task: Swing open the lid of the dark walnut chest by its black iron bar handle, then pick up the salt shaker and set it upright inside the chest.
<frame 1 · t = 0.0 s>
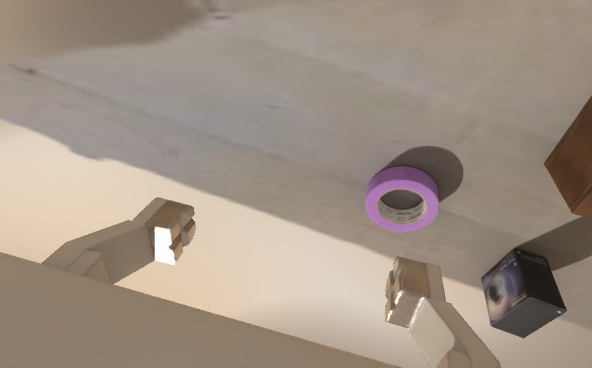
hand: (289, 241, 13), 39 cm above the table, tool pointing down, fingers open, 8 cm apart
tape roll: (401, 192, 58), on the table
small box: (511, 267, 63), on the table
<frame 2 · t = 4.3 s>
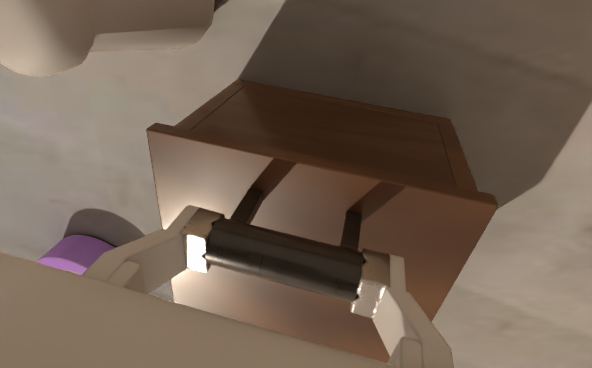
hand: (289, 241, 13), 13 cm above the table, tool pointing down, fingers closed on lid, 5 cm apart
lid: (281, 319, 17), point 13 cm above the table, hinge at -0.1°, touching gripper
chest: (321, 191, 28), on the table
tape roll: (104, 268, 42), on the table
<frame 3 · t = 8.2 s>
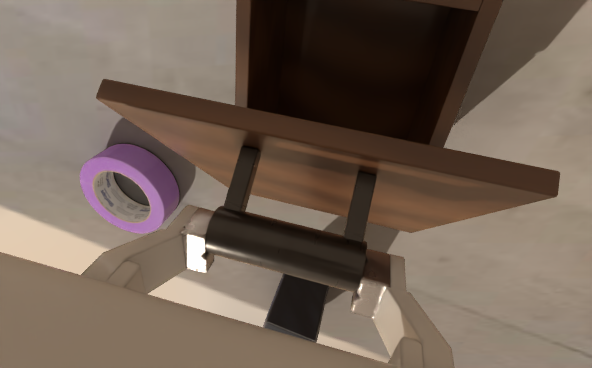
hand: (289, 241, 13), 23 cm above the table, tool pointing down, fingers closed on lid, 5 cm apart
lid: (306, 221, 18), point 18 cm above the table, hinge at 45.6°, touching gripper
chest: (351, 73, 31), on the table
tape roll: (141, 181, 45), on the table
small box: (301, 286, 49), on the table
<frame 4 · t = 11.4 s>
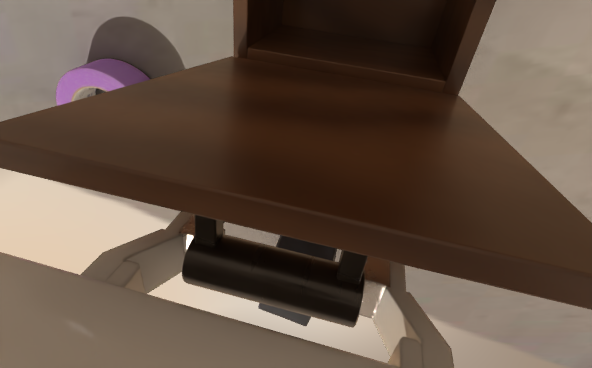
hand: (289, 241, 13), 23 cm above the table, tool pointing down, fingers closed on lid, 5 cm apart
lid: (313, 158, 15), point 19 cm above the table, hinge at 82.2°, touching gripper
tape roll: (127, 108, 40), on the table
small box: (310, 227, 44), on the table
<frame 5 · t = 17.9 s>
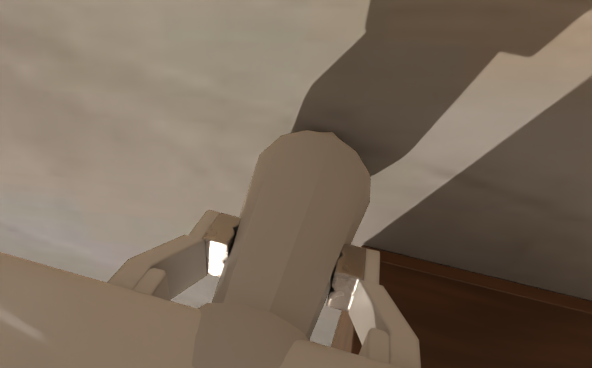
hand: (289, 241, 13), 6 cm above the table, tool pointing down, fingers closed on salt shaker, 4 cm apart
chest: (440, 348, 24), on the table
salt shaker: (319, 162, 18), on the table, touching gripper
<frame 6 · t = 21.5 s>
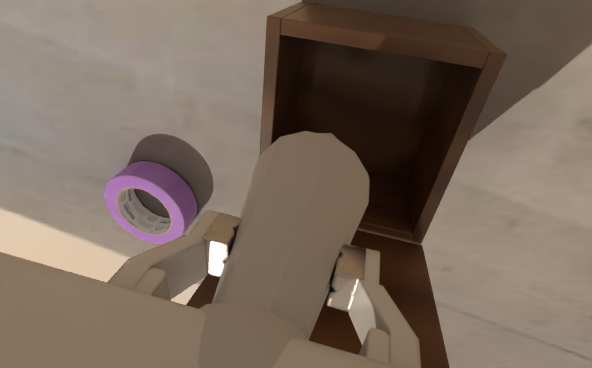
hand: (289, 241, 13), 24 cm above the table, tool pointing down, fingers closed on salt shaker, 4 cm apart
lid: (316, 316, 23), point 19 cm above the table, hinge at 80.8°
chest: (363, 102, 33), on the table
tape roll: (160, 195, 48), on the table
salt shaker: (318, 163, 18), point 17 cm above the table, touching gripper
when the fingers open (7 cm above the table, at t = 25.6 s): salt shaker stays where it is, resting on chest.
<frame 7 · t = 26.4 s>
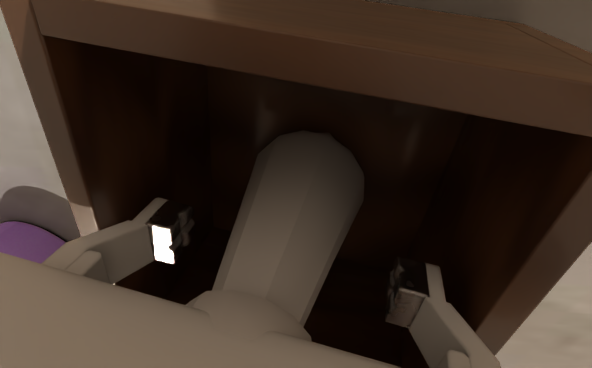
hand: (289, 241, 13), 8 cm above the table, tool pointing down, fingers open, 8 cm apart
chest: (321, 152, 20), on the table
tape roll: (51, 264, 34), on the table
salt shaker: (315, 161, 19), point 1 cm above the table, touching chest
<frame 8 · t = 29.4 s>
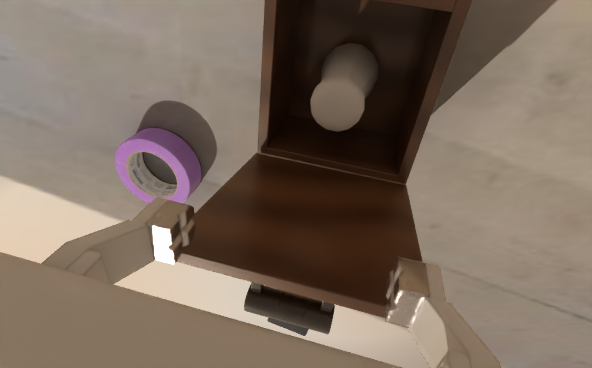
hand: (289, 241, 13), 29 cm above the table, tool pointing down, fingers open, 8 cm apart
lid: (310, 235, 26), point 19 cm above the table, hinge at 80.8°
chest: (354, 63, 37), on the table
tape roll: (167, 162, 51), on the table
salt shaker: (351, 67, 36), point 1 cm above the table, touching chest
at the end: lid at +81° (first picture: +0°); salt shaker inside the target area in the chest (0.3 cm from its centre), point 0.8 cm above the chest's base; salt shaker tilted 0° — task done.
